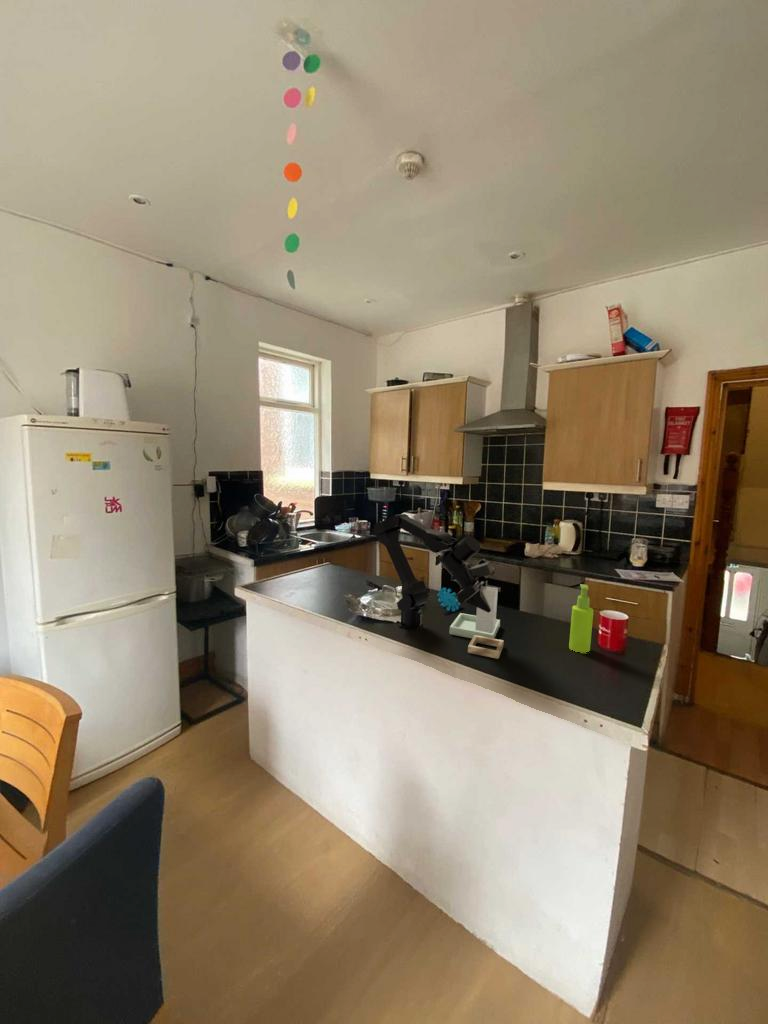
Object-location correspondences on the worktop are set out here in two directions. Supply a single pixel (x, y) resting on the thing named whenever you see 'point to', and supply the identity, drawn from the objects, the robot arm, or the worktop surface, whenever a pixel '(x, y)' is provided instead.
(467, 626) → the tray
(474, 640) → the wooden collar
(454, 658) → the worktop surface
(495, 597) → the stop block
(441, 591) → the gear
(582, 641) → the soap dispenser
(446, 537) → the robot arm
